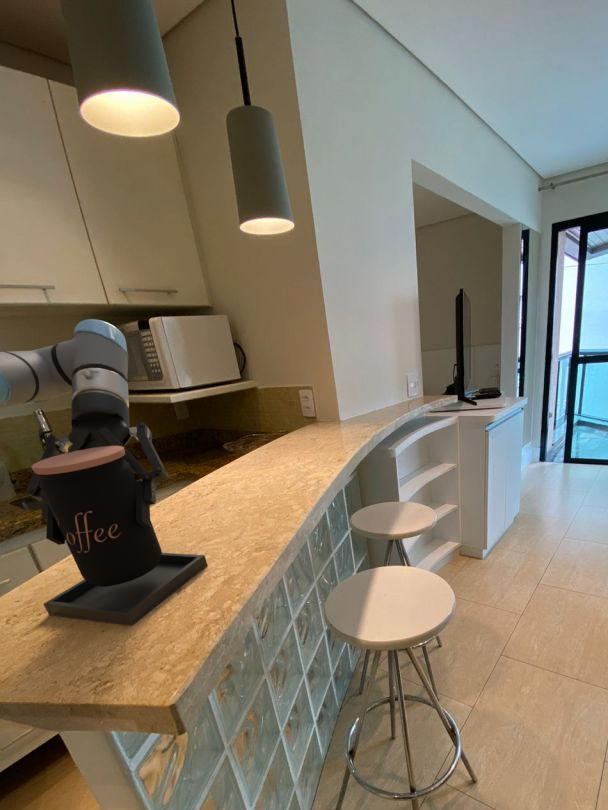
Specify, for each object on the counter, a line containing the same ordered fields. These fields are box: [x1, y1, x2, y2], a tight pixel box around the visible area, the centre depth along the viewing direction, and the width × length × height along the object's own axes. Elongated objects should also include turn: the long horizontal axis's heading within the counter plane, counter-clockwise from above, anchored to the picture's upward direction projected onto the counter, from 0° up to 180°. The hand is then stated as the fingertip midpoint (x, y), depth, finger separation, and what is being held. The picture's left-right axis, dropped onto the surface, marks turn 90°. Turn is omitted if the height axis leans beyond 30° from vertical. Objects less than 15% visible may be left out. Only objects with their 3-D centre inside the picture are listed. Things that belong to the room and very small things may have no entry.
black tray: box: [43, 552, 208, 626], centre depth 63 cm, size 16×16×2 cm
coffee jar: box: [30, 446, 163, 587], centre depth 59 cm, size 11×11×18 cm
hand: (100, 533), depth 57 cm, fingers closed on coffee jar, 10 cm apart
